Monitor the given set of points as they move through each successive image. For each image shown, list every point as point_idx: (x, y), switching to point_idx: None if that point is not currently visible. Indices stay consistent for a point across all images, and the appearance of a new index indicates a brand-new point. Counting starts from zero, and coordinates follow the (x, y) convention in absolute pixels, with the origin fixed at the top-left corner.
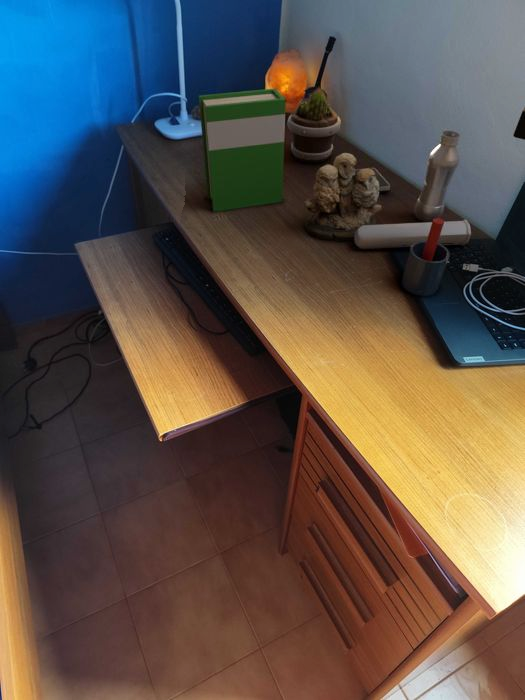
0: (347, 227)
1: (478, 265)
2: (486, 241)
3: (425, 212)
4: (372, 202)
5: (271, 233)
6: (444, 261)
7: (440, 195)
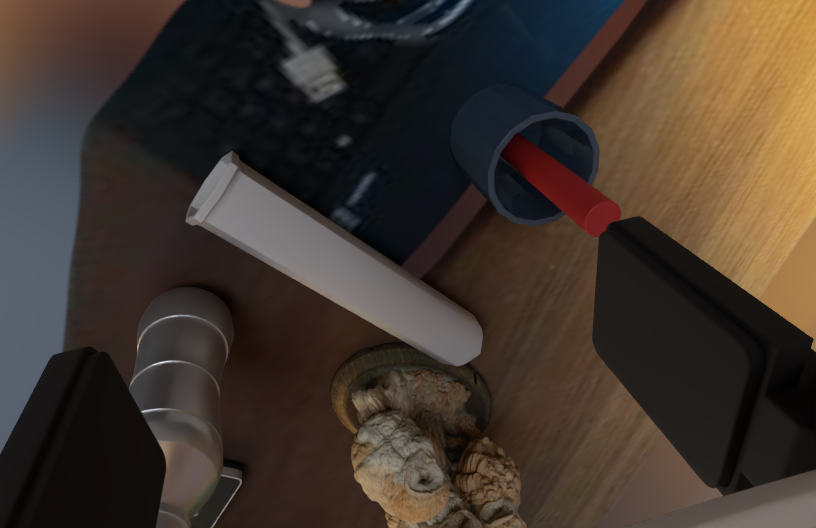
0: (447, 383)
1: (282, 61)
2: (124, 117)
3: (229, 325)
4: (396, 417)
5: (532, 443)
6: (562, 112)
7: (194, 347)
